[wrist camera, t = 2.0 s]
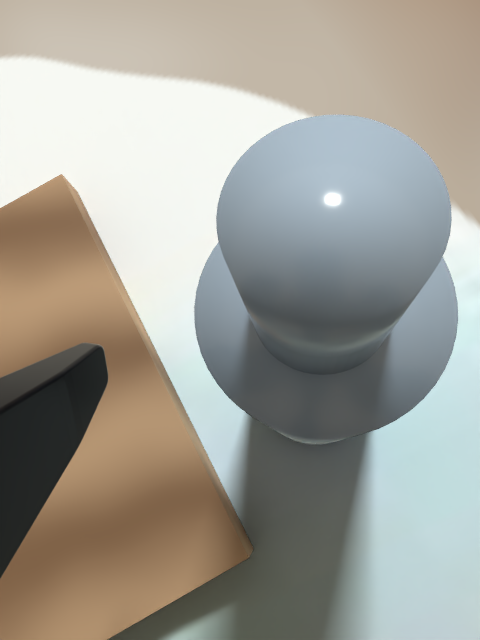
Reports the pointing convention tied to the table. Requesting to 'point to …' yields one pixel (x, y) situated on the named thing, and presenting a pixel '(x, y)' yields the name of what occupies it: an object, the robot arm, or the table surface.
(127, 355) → the walnut board
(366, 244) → the slate-blue bottle
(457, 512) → the table surface
